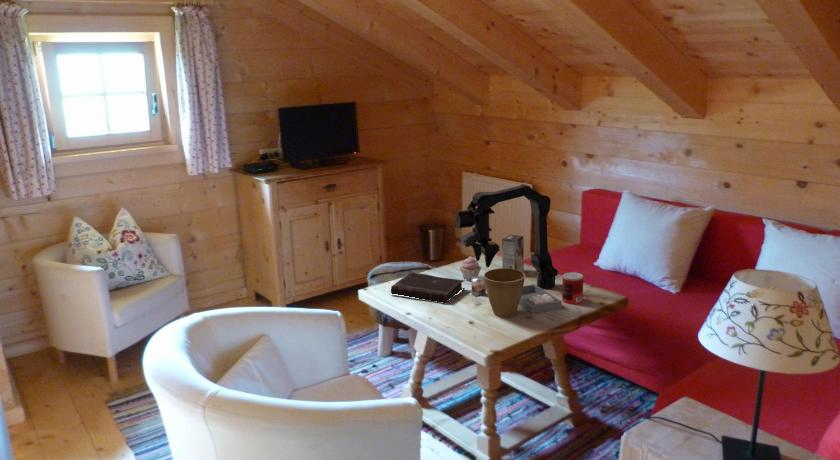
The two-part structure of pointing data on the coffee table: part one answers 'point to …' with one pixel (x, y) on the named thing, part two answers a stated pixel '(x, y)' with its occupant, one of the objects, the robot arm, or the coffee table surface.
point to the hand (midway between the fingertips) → (482, 263)
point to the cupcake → (470, 268)
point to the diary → (427, 287)
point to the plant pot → (504, 290)
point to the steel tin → (478, 286)
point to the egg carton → (540, 299)
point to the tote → (535, 291)
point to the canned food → (572, 288)
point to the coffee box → (513, 252)
